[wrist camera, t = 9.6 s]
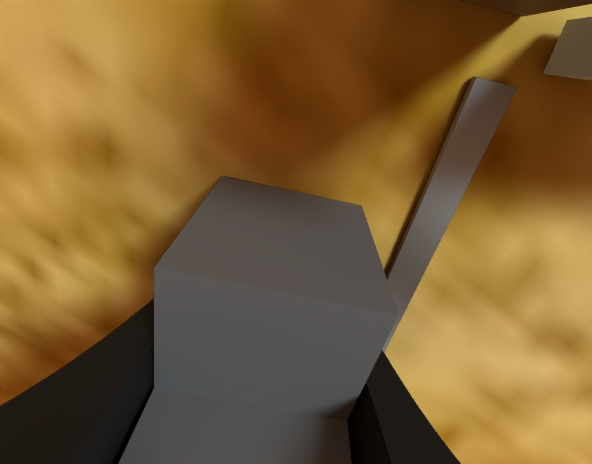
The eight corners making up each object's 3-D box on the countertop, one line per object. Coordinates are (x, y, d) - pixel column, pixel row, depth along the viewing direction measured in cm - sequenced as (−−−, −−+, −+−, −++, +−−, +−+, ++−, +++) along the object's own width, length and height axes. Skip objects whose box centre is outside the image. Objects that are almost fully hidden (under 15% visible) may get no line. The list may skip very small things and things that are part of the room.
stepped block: (306, 367, 12) (303, 593, 7) (203, 348, 12) (122, 570, 7) (361, 205, 9) (430, 408, 4) (221, 176, 9) (92, 350, 4)
